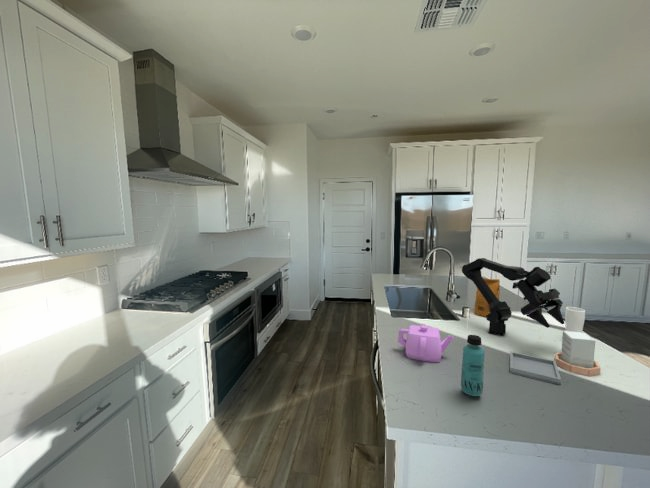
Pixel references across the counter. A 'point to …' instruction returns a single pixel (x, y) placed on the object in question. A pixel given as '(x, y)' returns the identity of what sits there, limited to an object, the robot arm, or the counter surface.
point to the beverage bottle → (472, 366)
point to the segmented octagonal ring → (576, 369)
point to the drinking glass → (574, 319)
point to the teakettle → (423, 343)
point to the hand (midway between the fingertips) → (556, 325)
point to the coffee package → (480, 302)
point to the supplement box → (578, 349)
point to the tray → (534, 367)
